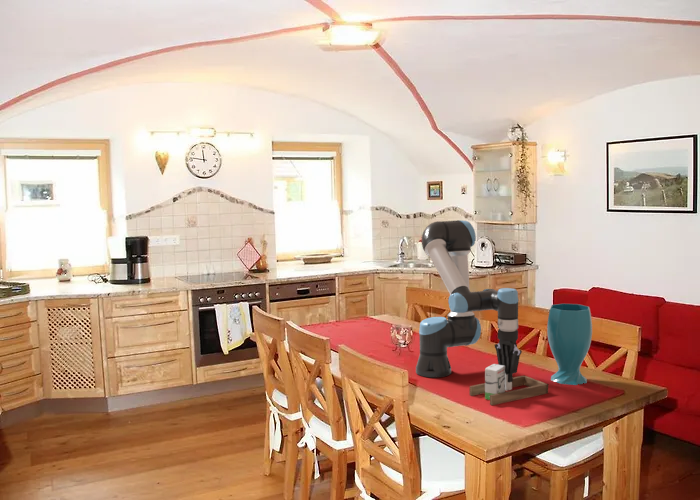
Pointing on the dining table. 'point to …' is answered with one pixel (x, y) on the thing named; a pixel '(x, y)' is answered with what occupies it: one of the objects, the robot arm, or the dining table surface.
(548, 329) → the vase
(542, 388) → the walnut frame
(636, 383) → the dining table surface
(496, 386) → the ink box
